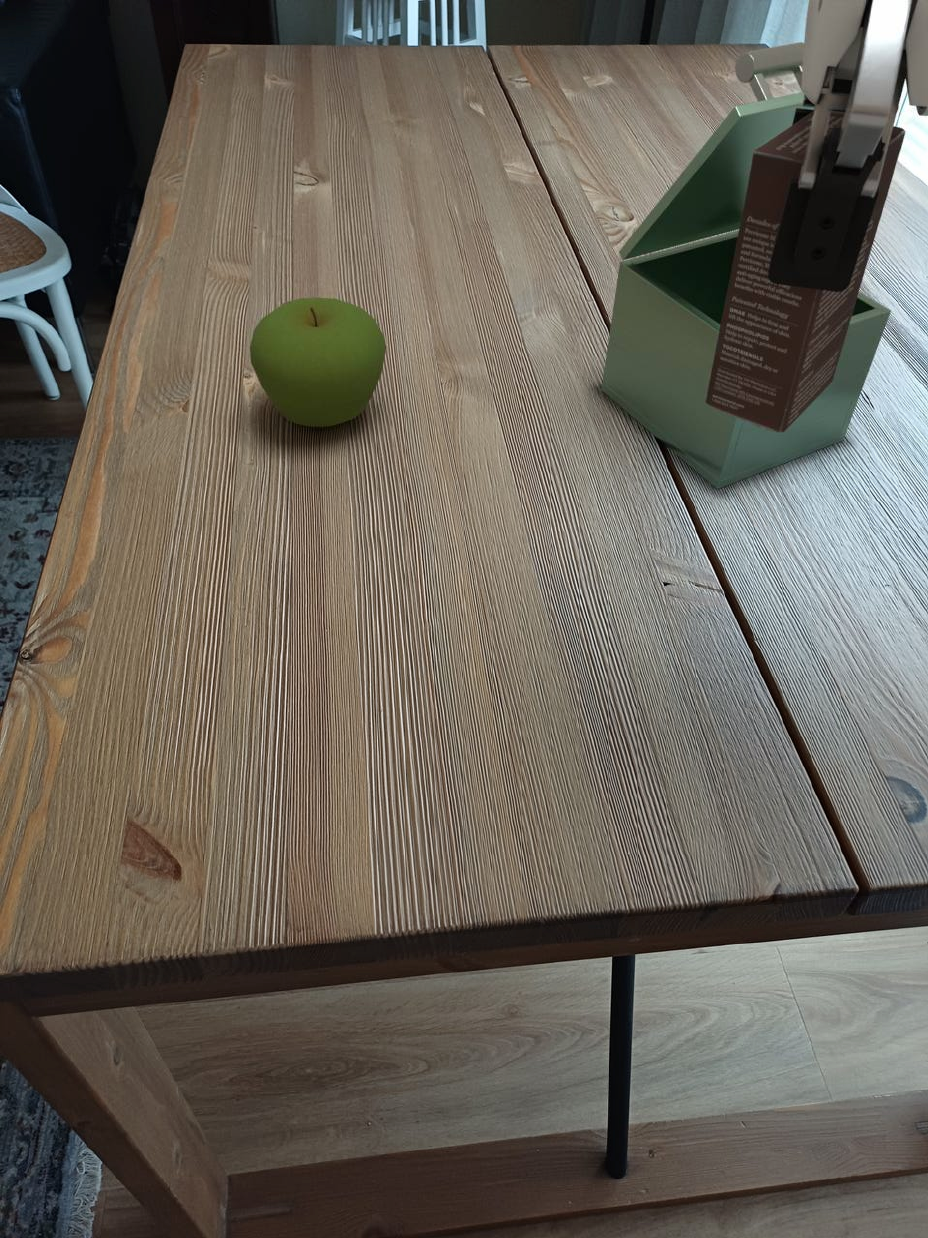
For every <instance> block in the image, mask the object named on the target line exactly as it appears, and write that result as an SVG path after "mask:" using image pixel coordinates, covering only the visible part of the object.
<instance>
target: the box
mask: <svg viewBox="0 0 928 1238" xmlns="http://www.w3.org/2000/svg"><path fill="white" fill-rule="evenodd" d="M813 115H814V111H813V112H811V113H810V114H808V115H807V116H805V117H804V118H802V119H801V120H800V121H798V122H797V123H795V124H794V125H792V126H791V127H789V128H788V129H786V130H785V131H783V132H782V133H780V134H779V135H777V136H776V137H774V138H773V139H771V140H770V141H768V142H767V143H766V144H764V145H762V146H761V147H759V148H758V149H756V150H755V151H754V153H753V158H752V165H751V170H750V175H749V180H748V187H747V192H746V197H745V203H744V208H743V212H742V218H741V223H740V228H739V229H738V230H739V233H738V238H737V243H736V249H735V254H734V259H733V265H732V271H731V276H730V280H729V285H728V291H727V295H726V300H725V306H724V311H723V316H722V320H721V325H720V330H719V336H718V341H717V345H716V351H715V356H714V361H713V366H712V371H711V378H710V381H709V388H708V392H707V398H706V404H708V405H710V406H711V407H713V408H715V409H717V410H720V411H722V412H725V413H727V414H729V415H732V416H735V417H737V418H739V419H741V420H743V421H746V422H749V423H752V424H753V425H756V426H758V427H763V428H765V429H766V430H770V431H774V432H777V433H783V432H785V430H786V429H787V428H788V427H789V426H790V425H791V424H792V423H793V422H794V421H795V420H796V419H797V418H798V417H799V416H800V415H801V414H802V413H803V412H804V411H805V410H806V409H807V408H808V407H809V406H810V405H811V403H812V402H813V401H814V400H815V399H816V398H817V397H818V396H819V395H820V394H821V393H822V392H823V391H824V390H825V389H826V387H827V386H828V385H829V384H830V383H831V382H832V381H833V378H834V375H835V371H836V367H837V364H838V361H839V358H840V354H841V351H842V348H843V344H844V341H845V337H846V334H847V331H848V327H849V324H850V320H851V317H852V314H853V310H854V307H855V303H856V299H857V296H858V292H860V289H861V286H862V283H863V280H864V276H865V273H866V269H867V265H868V262H869V258H870V255H871V252H872V248H873V245H874V243H875V240H876V239H875V238H876V234H877V232H878V228H879V224H880V221H881V218H882V215H883V211H884V208H885V204H886V201H887V198H888V195H889V190H890V188H891V185H892V181H893V177H894V174H895V170H896V166H897V163H898V160H899V157H900V153H901V150H902V146H903V143H904V140H905V136H906V130H905V128H903V127H900V126H895V125H894V126H893V130H892V134H891V138H890V142H889V146H888V150H887V154H886V158H885V162H884V166H883V170H882V174H881V178H880V181H879V185H878V191H879V194H878V197H877V200H876V203H875V207H874V210H873V213H872V216H871V219H870V222H869V225H868V228H867V231H866V235H865V238H864V241H863V244H862V247H861V250H860V253H859V256H858V259H857V263H856V266H855V269H854V272H853V275H852V278H851V281H850V284H849V286H848V288H847V289H846V290H844V291H841V292H833V291H825V290H818V289H810V288H803V287H796V286H788V285H781V284H775V283H772V282H771V281H770V280H769V278H768V269H769V264H770V260H771V256H772V252H773V248H774V245H775V241H776V237H777V233H778V229H779V225H780V221H781V217H782V213H783V209H784V205H785V201H786V197H787V193H788V189H789V186H790V182H791V178H797V179H799V177H800V172H801V168H802V164H803V159H804V155H805V150H806V146H807V141H808V137H809V133H810V128H811V124H812V119H813ZM842 121H843V117H833V116H830V120H829V124H828V129H827V133H826V136H829V133H830V131H832V128H833V127H835V128H841V126H842Z"/></svg>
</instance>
